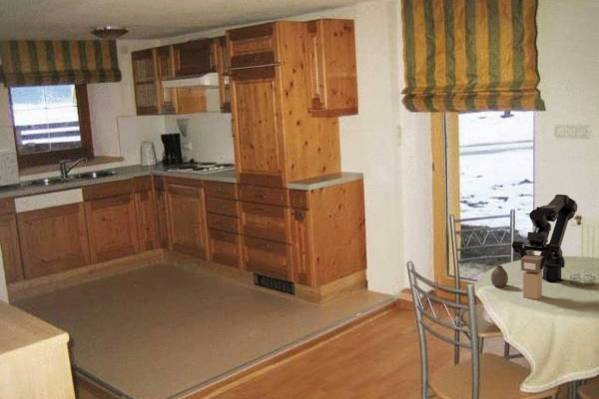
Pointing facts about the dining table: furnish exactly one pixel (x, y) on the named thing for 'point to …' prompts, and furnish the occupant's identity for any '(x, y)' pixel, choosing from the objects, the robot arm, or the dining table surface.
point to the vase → (499, 277)
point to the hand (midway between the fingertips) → (531, 267)
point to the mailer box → (532, 285)
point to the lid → (531, 263)
